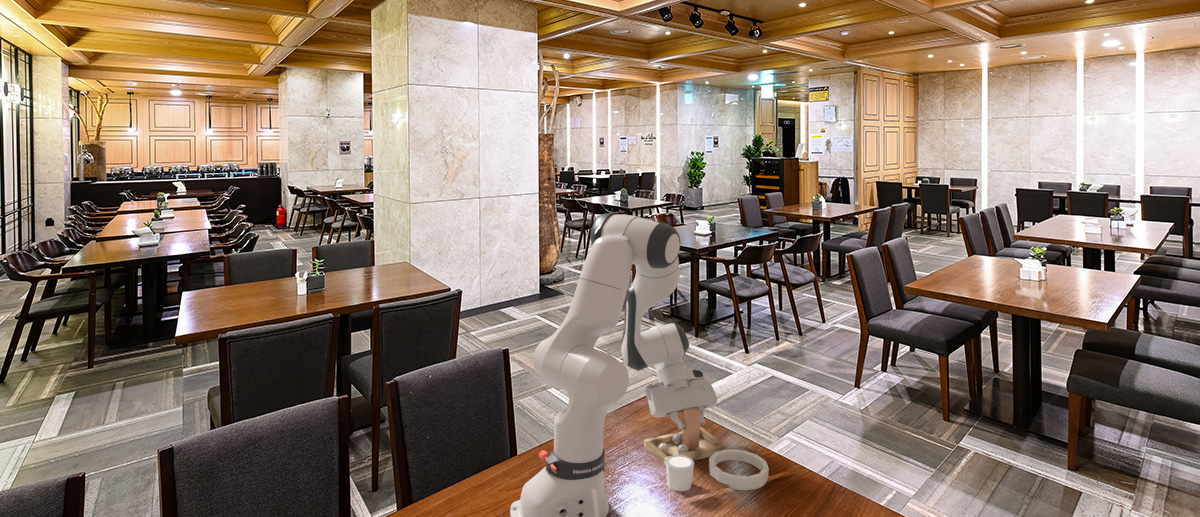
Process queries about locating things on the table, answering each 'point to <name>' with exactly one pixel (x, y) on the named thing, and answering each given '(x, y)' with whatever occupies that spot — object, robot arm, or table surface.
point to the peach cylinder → (691, 427)
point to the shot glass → (679, 472)
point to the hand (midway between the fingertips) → (692, 426)
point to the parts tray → (705, 449)
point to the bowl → (734, 480)
